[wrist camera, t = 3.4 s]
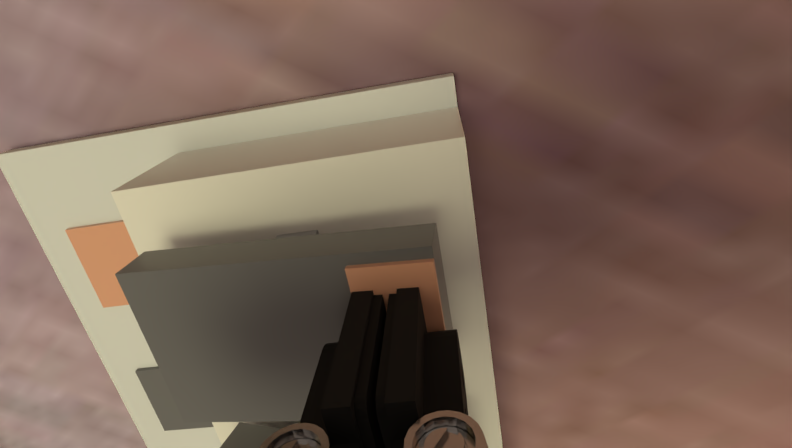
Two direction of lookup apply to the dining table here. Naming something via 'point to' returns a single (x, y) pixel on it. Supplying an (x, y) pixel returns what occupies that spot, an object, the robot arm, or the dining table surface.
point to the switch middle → (248, 436)
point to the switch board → (130, 156)
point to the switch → (269, 312)
